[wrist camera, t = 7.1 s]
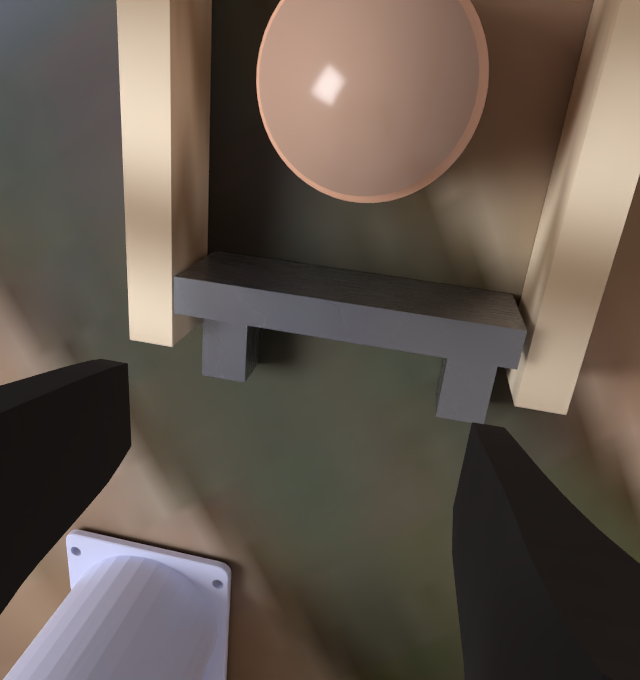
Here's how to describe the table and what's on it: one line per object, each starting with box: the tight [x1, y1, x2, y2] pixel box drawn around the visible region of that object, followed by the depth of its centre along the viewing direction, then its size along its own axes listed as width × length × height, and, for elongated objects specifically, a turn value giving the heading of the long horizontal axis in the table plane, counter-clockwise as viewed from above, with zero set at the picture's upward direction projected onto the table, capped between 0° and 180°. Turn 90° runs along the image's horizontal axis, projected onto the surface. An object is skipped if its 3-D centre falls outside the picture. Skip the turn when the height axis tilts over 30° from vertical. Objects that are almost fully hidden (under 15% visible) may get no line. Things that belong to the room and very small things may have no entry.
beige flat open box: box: [117, 0, 640, 415], centre depth 15 cm, size 21×14×3 cm
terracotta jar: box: [256, 0, 489, 203], centre depth 15 cm, size 6×6×5 cm
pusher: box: [174, 251, 527, 424], centre depth 19 cm, size 4×10×4 cm, turn 84°
